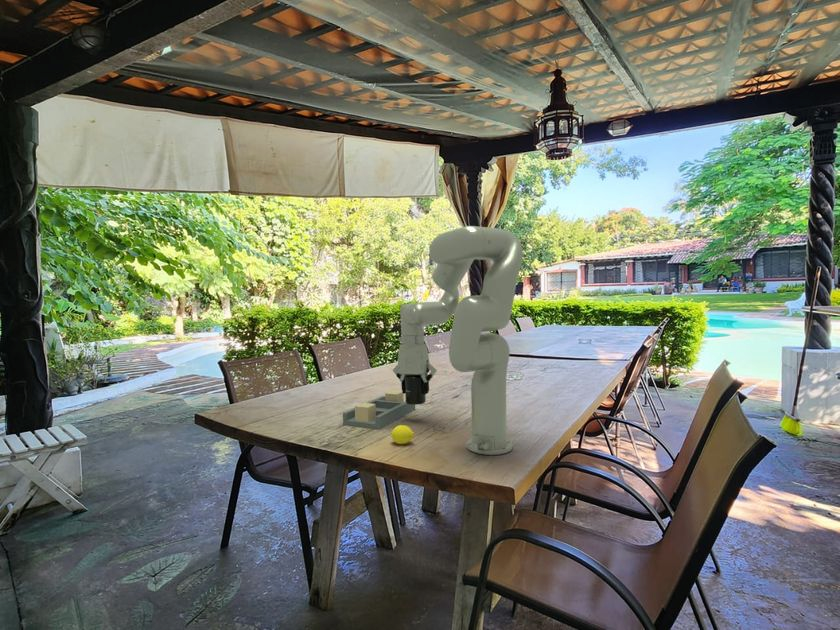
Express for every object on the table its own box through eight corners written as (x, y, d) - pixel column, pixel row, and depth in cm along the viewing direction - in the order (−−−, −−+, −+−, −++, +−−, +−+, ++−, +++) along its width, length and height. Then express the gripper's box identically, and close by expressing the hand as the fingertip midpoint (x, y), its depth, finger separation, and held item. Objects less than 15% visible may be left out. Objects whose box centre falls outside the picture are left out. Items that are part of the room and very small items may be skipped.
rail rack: (379, 429, 142) (378, 409, 142) (343, 424, 148) (342, 405, 148) (415, 409, 165) (414, 392, 165) (382, 406, 171) (382, 389, 171)
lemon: (389, 447, 127) (386, 428, 127) (395, 441, 132) (392, 423, 132) (412, 446, 125) (409, 427, 124) (418, 440, 130) (415, 421, 130)
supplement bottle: (402, 404, 148) (400, 368, 148) (410, 400, 154) (408, 365, 154) (421, 405, 145) (419, 368, 145) (429, 400, 152) (427, 365, 152)
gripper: (384, 341, 150) (387, 394, 150) (432, 341, 142) (434, 396, 143) (395, 339, 157) (398, 390, 157) (441, 339, 149) (443, 392, 149)
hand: (415, 392), depth 150 cm, fingers closed on supplement bottle, 6 cm apart
